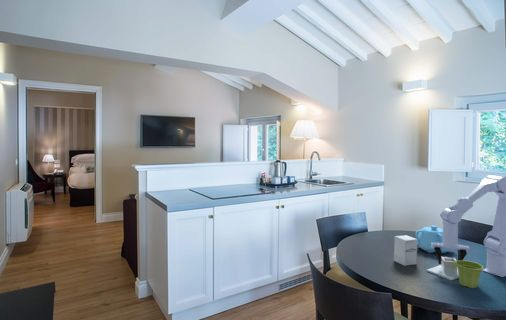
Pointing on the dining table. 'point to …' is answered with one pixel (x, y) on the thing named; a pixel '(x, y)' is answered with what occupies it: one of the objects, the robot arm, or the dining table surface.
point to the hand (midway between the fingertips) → (449, 264)
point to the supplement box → (405, 250)
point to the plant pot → (469, 273)
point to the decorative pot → (430, 238)
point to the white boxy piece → (448, 265)
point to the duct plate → (443, 273)
